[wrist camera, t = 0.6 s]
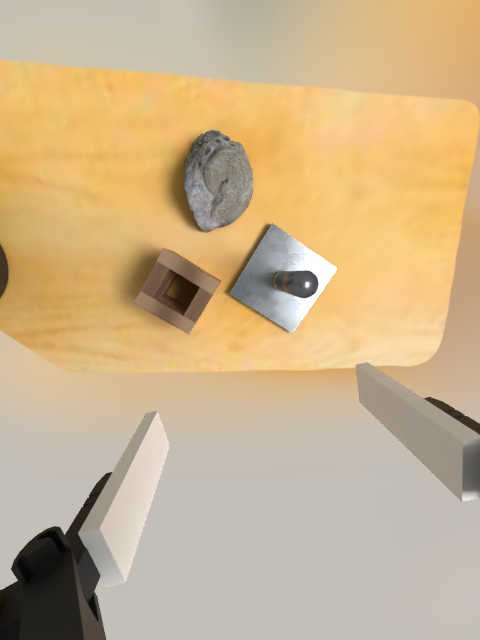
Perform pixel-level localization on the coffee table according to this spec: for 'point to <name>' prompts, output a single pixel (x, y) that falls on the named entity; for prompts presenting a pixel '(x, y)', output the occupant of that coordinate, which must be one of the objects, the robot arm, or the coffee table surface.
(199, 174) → the fossilized seashell
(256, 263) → the knob on metal plate
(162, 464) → the robot arm
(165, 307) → the collar
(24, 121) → the coffee table surface
